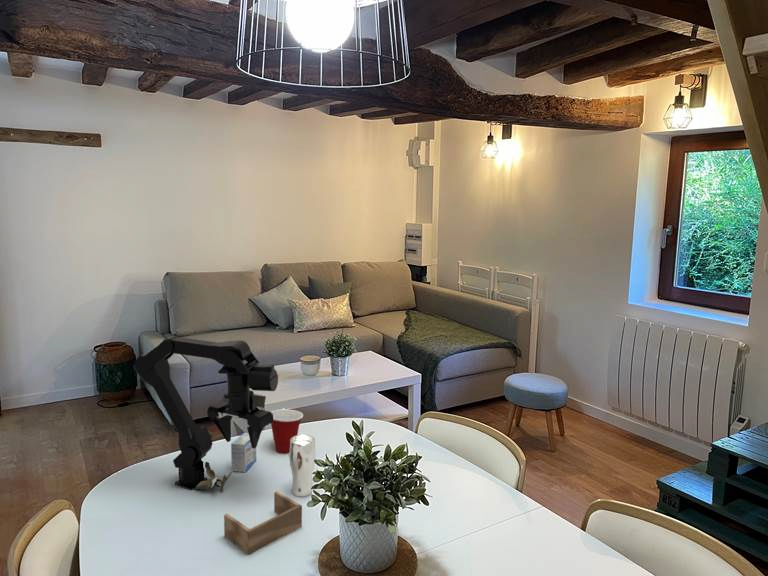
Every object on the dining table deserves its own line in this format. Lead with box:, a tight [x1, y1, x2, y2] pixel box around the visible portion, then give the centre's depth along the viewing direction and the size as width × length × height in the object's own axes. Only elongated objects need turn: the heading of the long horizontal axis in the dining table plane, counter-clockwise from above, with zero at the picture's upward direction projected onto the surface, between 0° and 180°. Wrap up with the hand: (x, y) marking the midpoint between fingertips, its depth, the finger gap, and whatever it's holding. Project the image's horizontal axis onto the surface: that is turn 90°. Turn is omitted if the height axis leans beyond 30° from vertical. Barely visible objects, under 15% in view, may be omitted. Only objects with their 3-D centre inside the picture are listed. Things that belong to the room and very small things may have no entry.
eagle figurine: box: [193, 461, 233, 493], centre depth 158 cm, size 8×7×9 cm
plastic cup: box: [270, 408, 304, 454], centre depth 182 cm, size 11×11×12 cm
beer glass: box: [288, 434, 316, 498], centre depth 157 cm, size 7×7×15 cm
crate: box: [223, 490, 303, 555], centre depth 139 cm, size 10×15×6 cm, turn 138°
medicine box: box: [230, 432, 257, 473], centre depth 171 cm, size 8×4×9 cm, turn 168°
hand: (241, 444), depth 156 cm, fingers open, 9 cm apart
